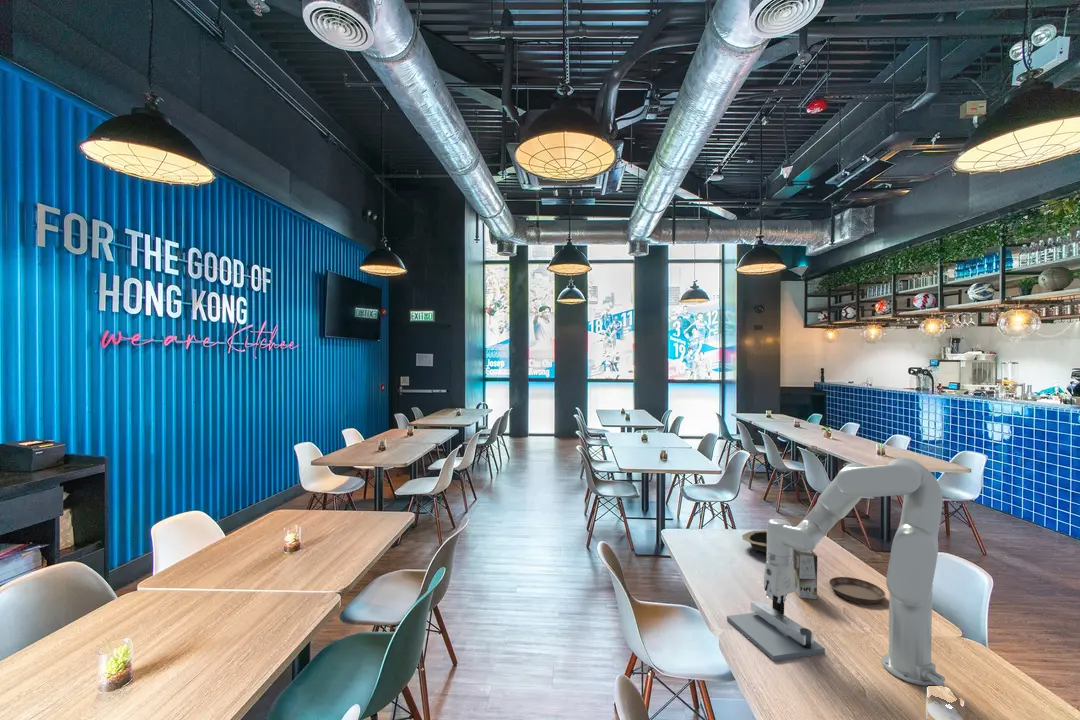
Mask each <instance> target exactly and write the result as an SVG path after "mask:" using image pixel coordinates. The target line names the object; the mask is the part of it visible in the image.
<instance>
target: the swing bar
mask: <svg viewBox="0 0 1080 720" xmlns="http://www.w3.org/2000/svg"><path fill="white" fill-rule="evenodd" d="M750 610H751V611H752V613H756V614H758V615H759V616H761V617H762V618H764V619H765V620H767V621H768V622H770V623H771V624H773V625H774V626H776V627H777V628H779V629H780V630H782V631H783V632H785V633H786V634H787V635H789V636H790V637H792V638H793V639H795V640H796V641H798V642H799V643H800V645H801V646H802V647H804V648H811V643H814V641H815V640H814V637H815V635H814V632H812V630H810V629H809V628H807V627H804V626H802V625H801V624H799V623H798V622H797V621H795V620H793V619H792V618H790V617H788V616H787V615H785V614H782V613H780V612H779V611H777V610H775V609H774V608H772V606H770V605H769V604H768V603H766V602H764V601H762V600H761V599H758V600H751V601H750Z"/></svg>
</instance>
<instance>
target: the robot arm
mask: <svg viewBox="0 0 1080 720" xmlns="http://www.w3.org/2000/svg"><path fill="white" fill-rule="evenodd" d="M892 496H903V502H902V506H901V513H900V514H901V515H900V521H899V524H898V528H897V530H896V532H895V535H894V537H893V539H892V544H891V548H890V549H891V550H890V555H889V560H888V567H887V572H886V578H885V585H886V588H887V590H888V593H889V594H888V595H889V597H888V599H889V601H888V653H885V654H884V655H883V656H882V658H881V664H882V666H883V667H884V668H885V669H886V671H888V672H889V673H890V674H891V675H893V676H895V677H896V678H899V679H901V680H904V681H905V682H908V683H910V684H914V685H919V686H924V687H925V686H926V687H929V686H928V685H932V686H936V687H939V686H942V687H943V686H944V682H945V680H946V678H945V676H943V674H940V673H938V672H937V671H936V664H934V663H933V662H932V641H933V640H932V637H933V636H932V633H933V629H932V628H933V627H932V624H933V586H934V584H933V583H934V577H935V573H936V567H937V562H938V555H939V532H940V527H941V526H940V525H941V518H942V511H943V494H942V489H941V486H940V484H939V482H938V480H937V478H936V477H935V475H933V473H932V472H931V471H930V470H929V469H928V468H927V467H925V466H924V465H923V464H921V463H919V462H918V461H916V460H914V459H912V458H908V457H907V458H906V457H898V458H894V459H893V460H891V461H889V463H888V464H880V465H873V466H872V465H871V466H866V465H864V464H862V463H859V462H852V463H848V464H845V466H844V467H843V468H842V469H840V470H839V471H838V473H837V475H836V476H835V477H834V479H833V480H832V481H830V483H829V484H828V485H827V487H826V488H825V489H824V490H823V491H822V493H821V494H820V495H819V496H818V498H817V499H816V500H817V501H816V503H815V505H814V506H813V507H812V508H811V510H810V511H809V512H808V513H807V514H806V516H805V517H804V518H803V519H802V520H801V521H800V522H799V524H797V525H795V526H793V525H792V523H791V522H790V521H787V520H785V519H781V518H770V519H768V521H767V523H766V530H767V553H766V561H765V567H764V573H763V574H764V575H763V589H764V591H765V592H766V593H765V597H766V598H768V599H770V600H772V606H771V607H772V608H774V609H775V610H777V611H779V612H780V613H782V614H783V615H785V602H786V599H787V595H789V594H792V593H794V592H795V573H794V566H793V562H792V548H793V549H796V550H798V551H801V552H810V551H813V550H815V549H816V548H817V546H818V545H819V543H820V542H821V541H822V540H823V538H825V536H826V535H827V534H828V533H829V532H830V530H832V528H833V527H834V526H835V525H836V524H837V523H838V522H839V521H840V520H842V519H844V518H845V517H846V516H847V515H848V514H849V513H850V512H851V511H852V510H853V508H855V506H856V505H857V504H858V503H859V502H860V500H861V499H863V498H874V497H875V498H876V497H877V498H878V497H892Z"/></svg>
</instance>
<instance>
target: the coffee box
mask: <svg viewBox="0 0 1080 720" xmlns="http://www.w3.org/2000/svg"><path fill="white" fill-rule="evenodd" d="M818 558H819V556H818V555H817V554H816V553H815V552H814V551H813V550H812V551H810V552H801V551H798V550H796V549H793V548H792V562H793V566H794V573H795V591H794V592H795V594H796V595H797V596H798V598H801V599H809V600H817V599H818Z"/></svg>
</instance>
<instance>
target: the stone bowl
mask: <svg viewBox="0 0 1080 720" xmlns="http://www.w3.org/2000/svg"><path fill="white" fill-rule="evenodd" d="M741 536H742V540H743V541H745V542H747V543H749V544H750V546H751V548H752V549H753V550H754V551H757V552H761V553H765V554H767V529H766V530H764V529H763V530H762V529H761V530H760V529H759V530H751V531H748V532H746V533H743V534H742V535H741Z"/></svg>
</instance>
